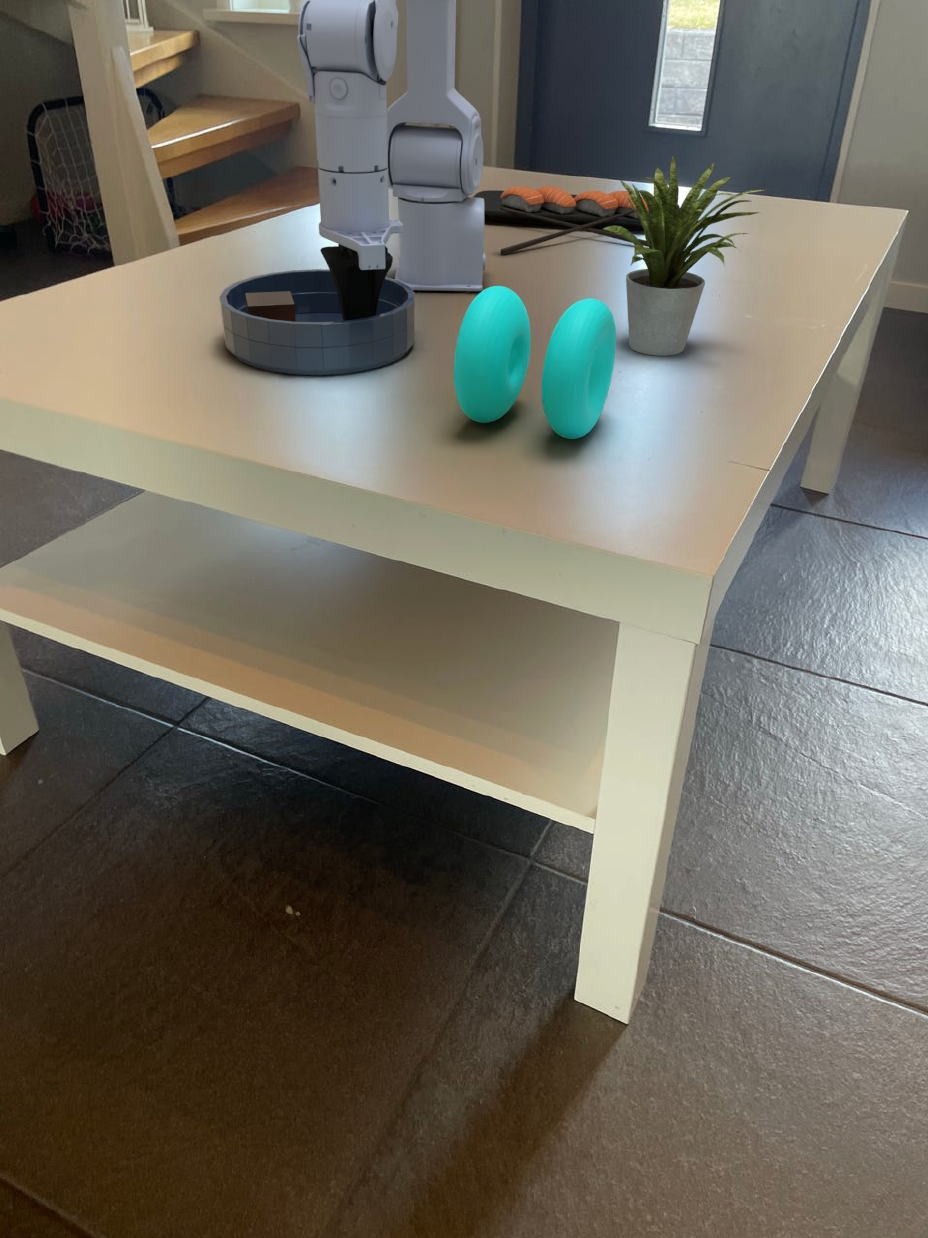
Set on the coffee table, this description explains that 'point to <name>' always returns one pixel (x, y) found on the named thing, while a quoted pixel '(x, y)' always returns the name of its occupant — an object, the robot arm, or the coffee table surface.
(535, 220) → the sushi plate
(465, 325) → the donuts
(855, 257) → the coffee table surface
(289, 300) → the block
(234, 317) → the bowl
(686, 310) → the house plant
